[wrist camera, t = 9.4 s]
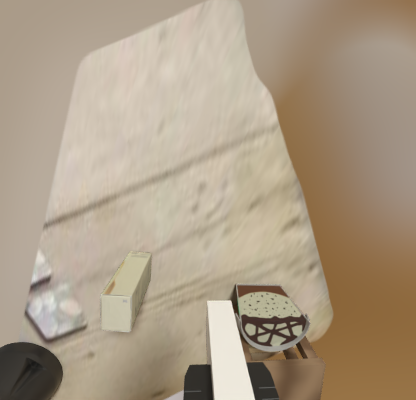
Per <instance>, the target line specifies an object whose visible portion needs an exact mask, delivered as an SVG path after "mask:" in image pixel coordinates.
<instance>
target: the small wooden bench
mask: <svg viewBox="0 0 416 400" xmlns="http://www.w3.org/2000/svg"><path fill="white" fill-rule="evenodd" d="M232 307H233V311H234V315H235V313H237V315H238V317H239V311H238V305H232ZM235 319H236V318H235ZM237 327H238V325H237ZM238 331H239V336H240V340H241V344H242V348H243V352H244V356H245V360H246V362H263V363H264V364H265V366H266V367H267V369H268V370H269V371H270V373H271V375H272V378H273V381H274V384H275V388H276V390H277V393H278V396H279V400H320V398H321V392H322V385H323V378H324V371H325V363H324V361H323V359H322V358H318V356H317V355H316V353H315V351H314V350H313V348H312V346H311V345H310V343H309V341H308V340H307V338H306V336H304V337H303V338H302V339H301V340H300V341H299V342H298V343H297V344H296V346H297V348H298V350H299V352H300V353H301V355H302V357H303V359H298V357H297V355H296V353H295V351H294V349H293V347H290V348H288V349H285V350H283V352H284V355H285V357H286V359H287V360H266V361H252V358H251V354H250V353H266V352H269V351H263V350H260V349H257V348H255V347H253V346H252V345H251V344H249V343H248V342H247V340H246V339H245V338H244V337H243V335H242V334H241V332H240V330H239V328H238ZM275 352H280V351H275Z"/></svg>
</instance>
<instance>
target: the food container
mask: <svg viewBox="0 0 416 400" xmlns="http://www.w3.org/2000/svg"><path fill="white" fill-rule="evenodd" d="M236 294H237V302H238V311H239V317H238V315H237V313H235V318H236V323H237V325H238V328H239V330H240V332H241V334H242V335H243V337H244V338H245V339H246V340H247V342H248V343H249V344H251V345H252V346H253V347H255V348H257V349H260V350H263V351H269V352H275V351H282V350H285V349H288V348H290V347H292V346H294V345H295V344H297V343H298V342H299V341H300V340H301V339H302V338H303V337H304V336H305V334H306V333H307V331H308V329H309V326H310V322H309V321H310V319H309V317H308V315H307V313H306V315H304V314H303V313H302V311H301V310H300V309H299V308H298V306H297V305H296V304H295V303H294V301H293V300H292V299H291V298H290V296H289V295H288V294H287V293H286V291H285V290H284V289H283V288H282V286H281V285H278V284H236Z"/></svg>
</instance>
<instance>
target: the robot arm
mask: <svg viewBox="0 0 416 400" xmlns="http://www.w3.org/2000/svg"><path fill="white" fill-rule="evenodd" d="M206 347H207V364H206V365H190V366H189V368H188V370H187V373H186V375H185V381H184V400H279V396H278V393H277V390H276V388H275V384H274V381H273V378H272V375H271V373H270V371H269V370H268V369H267V367H266V366H265V364H264V363H263V362H246V360H245V356H244V352H243V348H242V344H241V340H240V336H239V331H238V327H237V323H236V319H235V315H234V311H233V307H232V303H231V301H207V323H206ZM61 380H62V368H61V365H60V363H59V361H58V360H57V358H56V357H55V356H54V355H53V354H52V353H51V352H49V351H48V350H46V349H45V348H43V347H41V346H38V345H35V344H31V343H24V342H18V343H11V344H7V345H5V346H3V347H1V348H0V400H50V398H51V397H52V396H53V394H54V393H55V391H56V389H57V388H58V386H59V385H60V383H61Z"/></svg>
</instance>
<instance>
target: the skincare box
mask: <svg viewBox="0 0 416 400" xmlns="http://www.w3.org/2000/svg"><path fill="white" fill-rule="evenodd" d="M150 277H151V253H144V252H129V254H128V255H127V257H126V258H125V260H124V261H123V263H122V264H121V266H120V267H119V269H118V270H117V272H116V273H115V275H114V276H113V277H112V279H111V280H110V282H109V283H108V285H107V286H106V288H105V289H104V291H103V292H102V293H101V295H100V322H101V330H105V331H118V332H130V331H131V329H132V327H133V324H134V321H135V319H136V316H137V313H138V311H139V308H140V306H141V303H142V300H143V298H144V295H145V292H146V290H147V287H148V284H149V282H150Z"/></svg>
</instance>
